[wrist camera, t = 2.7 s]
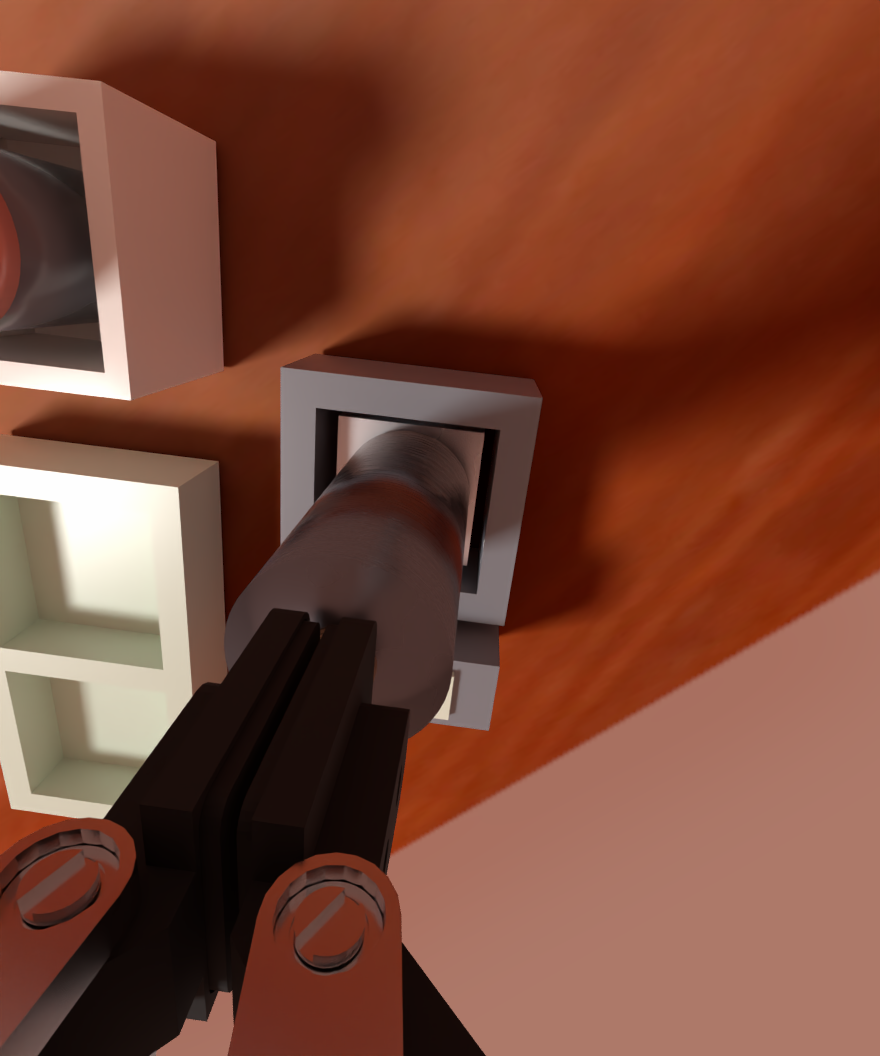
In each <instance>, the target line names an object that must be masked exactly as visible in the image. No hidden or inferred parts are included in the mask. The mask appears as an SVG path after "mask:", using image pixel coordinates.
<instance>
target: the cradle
mask: <svg viewBox="0 0 880 1056" xmlns="http://www.w3.org/2000/svg"><path fill="white" fill-rule="evenodd" d="M542 399H543V398H542V396H541V394H540V391H539V389H538V387H537V385H536V383H535V381H534V379H527V378H518V377H510V376H501V375H493V374H484V373H476V372H467V371H459V370H450V369H441V368H433V367H424V366H416V365H407V364H399V363H390V362H382V361H373V360H365V359H356V358H348V357H339V356H331V355H322V354H313V355H311V356H308V357H306V358H303V359H301V360H298V361H295V362H293V363H290V364H288V365H285V366H283V367H281V544H282V543H283V541H284V540H285V539H286V538H287V536H288V535H289V534H290V533H291V531H292V530H293V529H294V528H295V526H296V525H297V524H298V523H299V522H300V520H301V519H302V518H303V517H304V515H305V514H306V513H307V512H308V510H309V509H310V508H311V507H312V505H313V504H314V503H315V502H316V500H317V499H318V498H319V497H320V495H321V494H322V493H323V492H324V491H325V489H326V488H327V487H328V486H329V484H330V483H331V482H332V481H333V479H334V478H335V477H336V472H337V446H338V420H339V415H340V414H341V413H342V412H343V411H346V412H355V413H363V414H371V415H380V416H388V417H396V418H405V419H413V420H421V421H430V422H438V423H446V424H454V425H463V426H471V427H479V428H488V429H496V430H495V437H494V445H493V452H492V459H491V466H490V473H489V480H488V487H487V494H486V501H485V508H484V515H483V522H482V529H481V536H480V544H479V548H471V547H469V554H468V561H467V566H465V565H463V568H462V579H461V589H460V599H459V609H458V620H457V630H456V640H455V650H454V661H453V671H452V679H451V684H450V688H449V691H448V694H447V696H446V699H445V701H444V703H443V705H442V707H441V708H440V710H439V712H438V713H437V714H436V715H435V717H434V718H433V719H432V720H431V722H429V723H437V724H444V725H451V726H458V727H466V728H473V729H480V730H488V731H489V726H490V720H491V714H492V708H493V702H494V696H495V690H496V685H497V679H498V673H499V667H500V666H499V625H500V626H504V624H505V618H506V613H507V607H508V601H509V595H510V589H511V583H512V577H513V571H514V565H515V559H516V553H517V547H518V541H519V535H520V530H521V524H522V518H523V512H524V506H525V500H526V494H527V488H528V482H529V476H530V470H531V464H532V458H533V452H534V447H535V441H536V435H537V429H538V423H539V417H540V411H541V405H542Z"/></svg>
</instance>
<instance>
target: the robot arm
mask: <svg viewBox="0 0 880 1056" xmlns="http://www.w3.org/2000/svg"><path fill="white" fill-rule="evenodd" d="M376 637H377V622H376V621H372V620H364V619H357V618H349V617H342V619H341V620H340V623H339V625H333V624H328V625H327V627H326V629H325V631H324V633H323V635H322V637H321V639H320V624H319V623H318V622H311V621H310V617H309V614H308V612H303V611H295V610H288V609H280V608H273V609H272V610H271V611H270V612H269V614H268V615H267V617H266V618H265V619H264V621H263V622H262V624H261V625H260V627H259V628H258V630H257V631H256V633H255V634H254V636H253V637H252V639H251V640H250V642H249V643H248V645H247V646H246V647H245V649H244V650H243V652H242V653H241V655H240V656H239V658H238V659H237V661H236V662H235V664H234V665H233V667H232V668H231V670H230V671H229V673H228V674H227V675H226V677H225V678H224V680H223V681H222V683H221V684H219V683H212V682H207V683H204V684H202V685H201V686H200V687H199V688H198V689H197V691H196V692H195V693H194V695H193V696H192V697H191V699H190V700H189V702H188V703H187V704H186V706H185V707H184V708H183V710H182V711H181V713H180V714H179V715H178V717H177V718H176V719H175V721H174V722H173V723H172V725H171V726H170V728H169V729H168V730H167V732H166V733H165V734H164V736H163V737H162V739H161V740H160V741H159V743H158V744H157V745H156V747H155V748H154V750H153V751H152V752H151V754H150V755H149V756H148V758H147V759H146V761H145V762H144V763H143V765H142V766H141V767H140V769H139V770H138V772H137V773H136V774H135V776H134V777H133V778H132V780H131V781H130V783H129V784H128V785H127V787H126V788H125V789H124V791H123V792H122V794H121V795H120V796H119V798H118V799H117V800H116V802H115V803H114V805H113V806H112V807H111V809H110V810H109V811H108V813H107V814H106V816H105V817H104V818H103V819H98V818H91V817H88V818H79V819H70V820H65V821H62V822H59V823H56V824H53V825H50V826H47V827H43V828H42V829H40V830H38V831H36V832H34V833H32V834H30V835H28V836H26V837H25V838H23V839H21V840H19V841H18V842H17V843H15V844H14V845H13V846H12V847H10V848H9V849H8V850H6V851H5V852H4V853H3V854H1V855H0V1056H156V1051H157V1050H158V1049H160V1048H161V1047H163V1046H164V1045H165V1044H167V1043H168V1042H170V1041H171V1040H173V1039H174V1038H176V1037H177V1036H178V1035H179V1034H180V1032H181V1029H182V1027H183V1024H184V1022H185V1020H186V1018H188V1019H195V1020H201V1021H207V1019H208V1017H209V1014H210V1012H211V1009H212V1006H213V1004H214V1001H215V999H216V996H217V993H218V991H222V992H231V991H232V993H233V1016H234V1028H233V1033H232V1038H231V1042H230V1047H229V1052H228V1056H486V1055H485V1054H484V1053H483V1051H482V1050H481V1049H480V1048H479V1046H478V1045H477V1043H476V1042H475V1041H474V1039H473V1038H472V1037H471V1035H470V1034H469V1032H468V1031H467V1030H466V1028H465V1027H464V1026H463V1024H462V1023H461V1022H460V1020H459V1019H458V1018H457V1016H456V1015H455V1014H454V1012H453V1011H452V1009H451V1008H450V1007H449V1005H448V1004H447V1003H446V1001H445V1000H444V999H443V997H442V996H441V995H440V993H439V992H438V991H437V989H436V988H435V986H434V985H433V984H432V982H431V981H430V980H429V978H428V977H427V976H426V974H425V973H424V972H423V970H422V969H421V967H420V966H419V965H418V964H417V962H416V961H415V959H414V958H413V957H412V955H411V954H410V953H409V951H408V950H407V949H406V947H405V946H404V944H403V943H402V938H401V937H402V935H401V933H402V932H401V911H400V905H399V900H398V895H397V893H396V891H395V889H394V887H393V885H392V883H391V881H390V880H389V878H388V876H386V875H387V869H388V863H389V858H390V852H391V847H392V841H393V835H394V829H395V824H396V818H397V812H398V806H399V800H400V794H401V788H402V781H403V774H404V766H405V759H406V750H407V741H408V732H409V722H410V709H404V708H397V707H390V706H382V705H375V704H372V690H373V677H374V663H375V650H376Z"/></svg>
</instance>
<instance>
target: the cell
mask: <svg viewBox="0 0 880 1056" xmlns="http://www.w3.org/2000/svg"><path fill="white" fill-rule="evenodd" d="M468 507H469V484H468V480H467V476H466V473H465V471H464V469H463V467H462V465H461V463H460V461H459V460H458V459H457V457H456V456H455V455H454V454H453V452H452V451H451V450H450V449H449V448H447V447H446V446H445V445H444V444H443V443H441V442H439V441H438V440H436V439H434V438H432V437H430V436H428V435H425V434H422V433H419V432H413V431H392V432H387V433H384V434H381V435H378V436H376V437H374V438H372V439H370V440H369V441H367V442H366V443H364V444H363V445H362V446H361V447H360V448H359V449H358V450H357V451H356V452H355V453H354V455H353V456H352V457H351V458H350V460H349V461H348V462H347V463H346V464H345V466H344V467H343V468H342V469H341V471H340V472H339V473H338V474H337V476H336V477H335V478H334V479H333V481H332V482H331V483H330V484H329V486H328V487H327V488H326V489H325V491H324V492H323V493H322V494H321V495H320V497H319V498H318V499H317V500H316V502H315V503H314V504H313V505H312V507H311V508H310V509H309V510H308V512H307V513H306V514H305V515H304V517H303V518H302V519H301V520H300V522H299V523H298V524H297V525H296V526H295V528H294V529H293V530H292V531H291V533H290V534H289V535H288V536H287V538H286V539H285V540H284V541H283V543H282V544H281V545H280V546H279V548H278V549H277V550H276V551H275V552H274V554H273V555H272V556H271V557H270V559H269V560H268V561H267V562H266V564H265V565H264V566H263V567H262V569H261V570H260V571H259V572H258V574H257V575H256V576H255V577H254V579H253V580H252V581H251V582H250V583H249V585H248V586H247V587H246V588H245V590H244V591H243V592H242V593H241V595H240V596H239V597H238V598H237V600H236V602H235V604H234V606H233V607H232V609H231V612H230V614H229V617H228V620H227V623H226V628H225V633H224V651H225V660H226V663H227V667H228V671H230V670H231V668H232V667H233V665H234V664H235V662H236V661H237V659H238V658H239V656H240V655H241V653H242V652H243V650H244V649H245V647H246V646H247V645H248V643H249V642H250V640H251V639H252V637H253V636H254V634H255V633H256V631H257V630H258V628H259V627H260V625H261V624H262V622H263V621H264V619H265V618H266V617H267V615H268V614H269V612H270V611H271V610H272V609H273V608H280V609H288V610H295V611H303V612H308V614H309V617H310V621H311V622H318V623H319V624H320V639H321V637H322V635H323V633H324V631H325V629H326V627H327V625H328V624H333V625H339V623H340V620H341V619H342V617H349V618H357V619H364V620H372V621H376V622H377V637H376V650H375V663H374V677H373V690H372V704H375V705H382V706H390V707H397V708H404V709H410V722H409V732H408V738H410V737H412V736H413V735H415V734H416V733H418V732H419V731H421V730H422V729H423V728H424V727H425V726H426V725H427V724H428V723H429V722H431V720H432V719H433V718H434V717H435V715H436V714H437V713H438V712H439V710H440V708H441V707H442V705H443V703H444V701H445V699H446V696H447V694H448V691H449V688H450V684H451V679H452V671H453V661H454V650H455V640H456V630H457V620H458V609H459V599H460V589H461V579H462V568H463V558H464V548H465V537H466V527H467V517H468Z"/></svg>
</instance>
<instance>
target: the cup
mask: <svg viewBox="0 0 880 1056" xmlns="http://www.w3.org/2000/svg"><path fill="white" fill-rule="evenodd" d="M221 371H224V361H223V333H222V304H221V275H220V246H219V218H218V189H217V160H216V141H214V140H212V139H210V138H208V137H206V136H204V135H202V134H201V133H199V132H197V131H195V130H193V129H191V128H189V127H187V126H185V125H183V124H182V123H180V122H178V121H176V120H174V119H172V118H170V117H168V116H166V115H164V114H162V113H161V112H159V111H157V110H155V109H153V108H151V107H149V106H147V105H145V104H143V103H142V102H140V101H138V100H136V99H134V98H132V97H130V96H128V95H126V94H124V93H122V92H121V91H119V90H117V89H115V88H113V87H111V86H109V85H107V84H105V83H103V82H102V81H95V80H85V79H76V78H66V77H56V76H47V75H37V74H27V73H18V72H8V71H0V385H8V386H17V387H25V388H33V389H42V390H50V391H58V392H66V393H75V394H83V395H91V396H99V397H108V398H116V399H124V400H134V399H137V398H140V397H143V396H146V395H149V394H152V393H156V392H159V391H162V390H165V389H168V388H171V387H174V386H177V385H181V384H184V383H187V382H190V381H193V380H196V379H199V378H202V377H206V376H209V375H212V374H215V373H218V372H221Z"/></svg>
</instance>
